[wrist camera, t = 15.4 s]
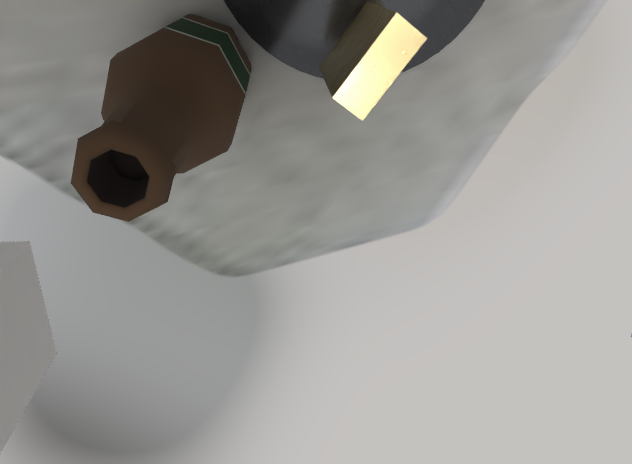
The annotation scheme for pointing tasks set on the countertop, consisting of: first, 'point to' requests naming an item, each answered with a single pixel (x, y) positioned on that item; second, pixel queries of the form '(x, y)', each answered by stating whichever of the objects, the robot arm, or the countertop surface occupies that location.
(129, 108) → the beer bottle
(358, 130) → the countertop surface
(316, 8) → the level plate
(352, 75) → the tan rectangular block
